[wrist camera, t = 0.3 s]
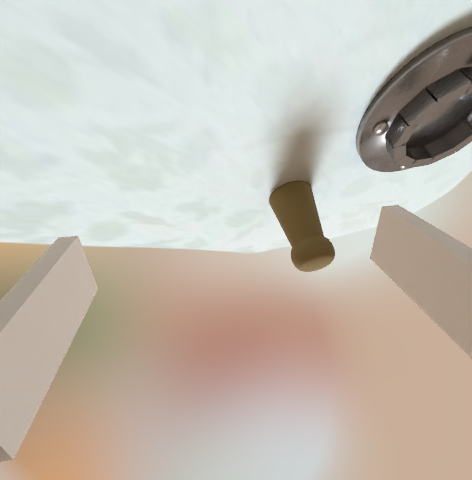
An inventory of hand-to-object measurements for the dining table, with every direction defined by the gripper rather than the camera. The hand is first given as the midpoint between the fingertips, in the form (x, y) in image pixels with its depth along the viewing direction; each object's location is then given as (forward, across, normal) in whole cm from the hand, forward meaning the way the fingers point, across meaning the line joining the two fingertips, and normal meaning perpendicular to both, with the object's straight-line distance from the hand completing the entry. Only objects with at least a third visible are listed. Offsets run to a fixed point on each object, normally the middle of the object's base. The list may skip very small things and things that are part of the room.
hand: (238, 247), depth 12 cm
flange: (+20, +24, +3) cm, 31 cm away
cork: (+25, +10, -7) cm, 28 cm away
